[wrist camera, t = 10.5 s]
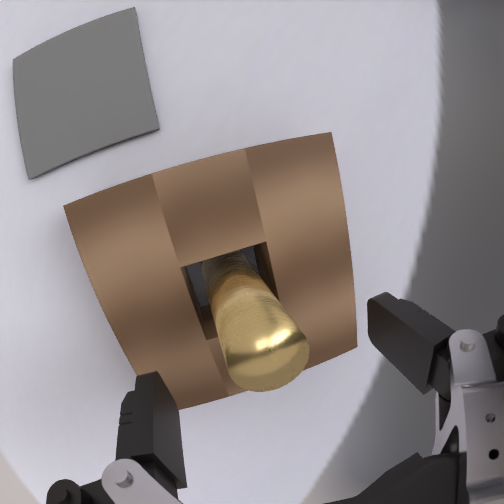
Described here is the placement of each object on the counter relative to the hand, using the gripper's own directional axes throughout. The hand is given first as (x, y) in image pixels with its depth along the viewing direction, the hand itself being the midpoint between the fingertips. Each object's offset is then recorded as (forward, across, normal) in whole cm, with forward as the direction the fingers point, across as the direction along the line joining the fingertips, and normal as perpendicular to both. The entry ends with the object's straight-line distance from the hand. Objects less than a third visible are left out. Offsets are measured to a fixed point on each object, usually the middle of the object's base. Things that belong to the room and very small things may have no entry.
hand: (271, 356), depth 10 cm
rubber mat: (+10, +6, -14) cm, 18 cm away
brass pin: (+10, 0, 0) cm, 10 cm away
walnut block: (+10, 0, 0) cm, 10 cm away
